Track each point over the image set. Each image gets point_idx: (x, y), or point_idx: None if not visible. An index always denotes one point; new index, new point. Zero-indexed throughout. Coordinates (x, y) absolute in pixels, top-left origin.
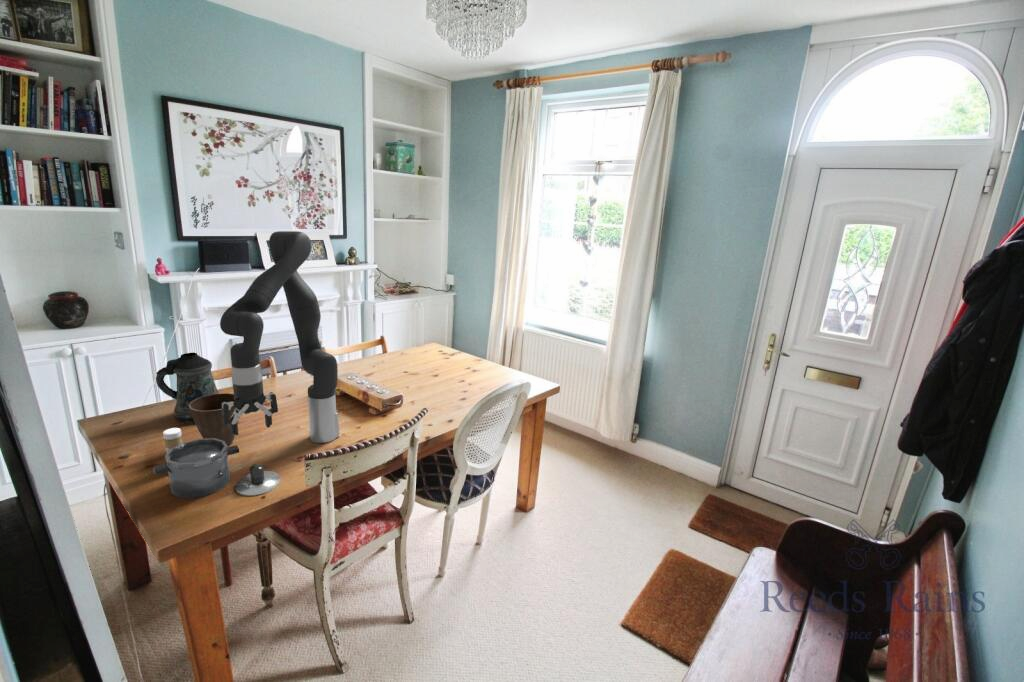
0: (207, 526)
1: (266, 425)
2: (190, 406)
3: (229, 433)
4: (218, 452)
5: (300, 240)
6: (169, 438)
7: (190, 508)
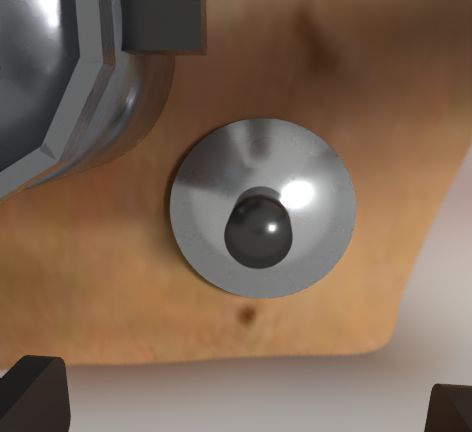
0: None
1: (434, 422)
2: None
3: None
4: (51, 76)
5: None
6: None
7: (9, 223)
